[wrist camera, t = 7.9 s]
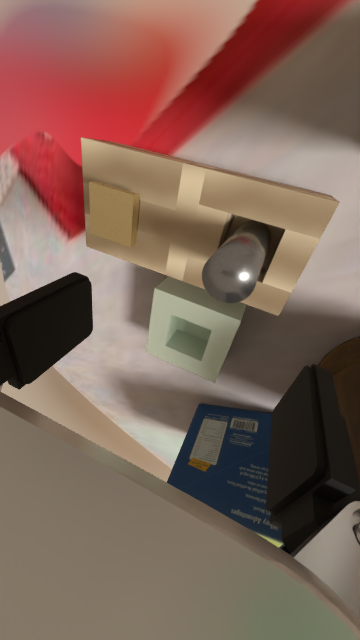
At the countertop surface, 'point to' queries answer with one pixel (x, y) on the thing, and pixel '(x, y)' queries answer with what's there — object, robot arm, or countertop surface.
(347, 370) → the wooden container
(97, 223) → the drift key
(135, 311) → the countertop surface
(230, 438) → the protein box
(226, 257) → the silver cylinder
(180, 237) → the socket block
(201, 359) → the pale green square block
